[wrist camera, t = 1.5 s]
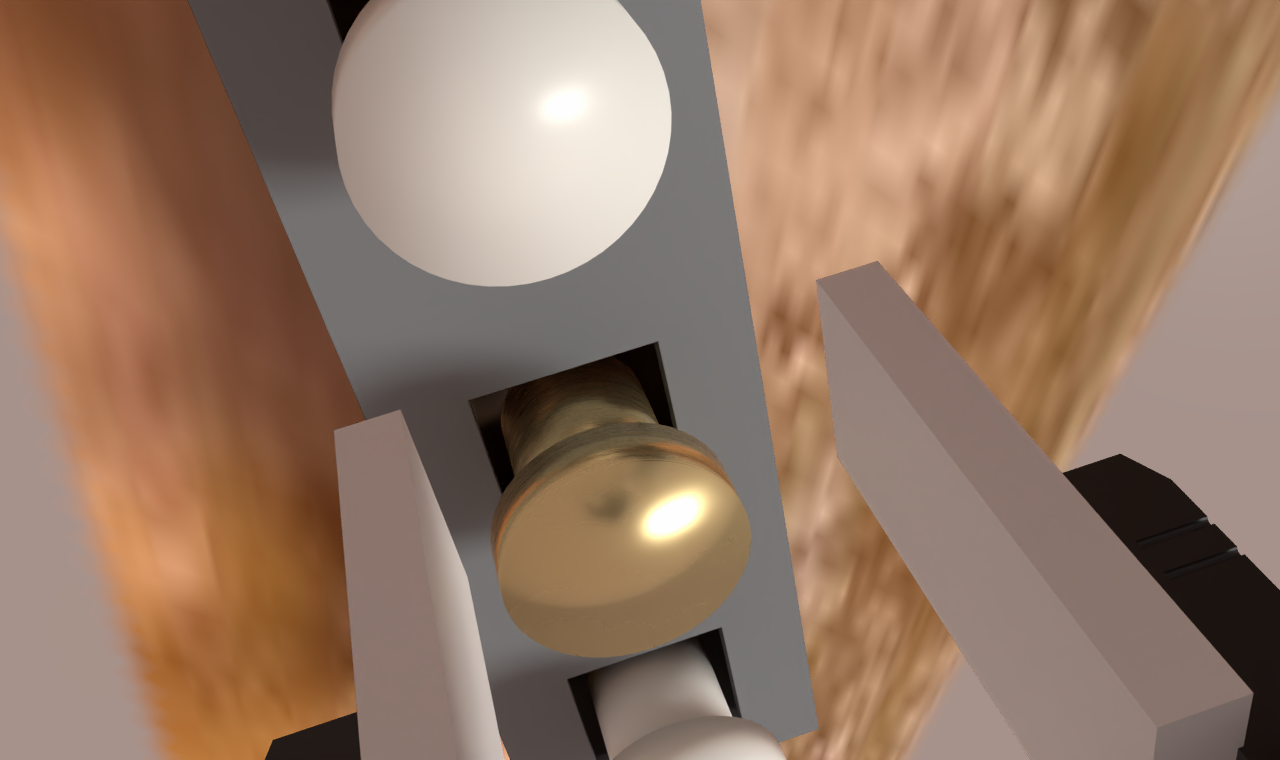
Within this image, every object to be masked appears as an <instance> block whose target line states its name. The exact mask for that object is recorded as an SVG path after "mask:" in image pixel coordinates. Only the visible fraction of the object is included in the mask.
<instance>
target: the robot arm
mask: <svg viewBox="0 0 1280 760" xmlns="http://www.w3.org/2000/svg"><path fill="white" fill-rule="evenodd" d="M816 284H817V292H818V300H819V309H820V317H821V325H822V334H823V342H824V350H825V359H826V367H827V375H828V384H829V392H830V400H831V408H832V417H833V425H834V433H835V442H836V450H837V457H838V459H839V460H840V462H841V464H842V465H843V467H844V468H845V470H846V471H847V473H848V475H849V476H850V478H851V479H852V481H853V482H854V484H855V486H856V487H857V489H858V490H859V492H860V493H861V495H862V497H863V498H864V500H865V501H866V503H867V504H868V506H869V508H870V509H871V511H872V512H873V514H874V515H875V517H876V519H877V520H878V522H879V523H880V525H881V526H882V528H883V530H884V531H885V533H886V534H887V536H888V537H889V539H890V541H891V542H892V544H893V545H894V547H895V548H896V550H897V552H898V553H899V555H900V556H901V558H902V559H903V561H904V563H905V564H906V566H907V567H908V569H909V570H910V572H911V574H912V575H913V577H914V578H915V580H916V581H917V583H918V585H919V586H920V588H921V589H922V591H923V592H924V594H925V596H926V597H927V599H928V600H929V602H930V603H931V605H932V607H933V608H934V610H935V611H936V613H937V614H938V616H939V618H940V619H941V621H942V622H943V624H944V625H945V627H946V628H947V630H948V632H949V633H950V635H951V636H952V638H953V639H954V641H955V643H956V644H957V646H958V647H959V649H960V650H961V652H962V654H963V655H964V657H965V658H966V660H967V661H968V663H969V665H970V666H971V668H972V669H973V671H974V672H975V674H976V676H977V677H978V679H979V680H980V682H981V683H982V685H983V687H984V688H985V690H986V691H987V693H988V694H989V696H990V697H991V699H992V701H993V702H994V704H995V705H996V707H997V708H998V710H999V712H1000V713H1001V715H1002V716H1003V718H1004V720H1005V721H1006V723H1007V724H1008V726H1009V727H1010V729H1011V730H1012V732H1013V734H1014V735H1015V737H1016V738H1017V740H1018V742H1019V743H1020V744H1021V746H1022V748H1023V749H1024V751H1025V753H1026V754H1027V756H1028V757H1029V759H1030V760H1280V590H1279V589H1278V588H1277V587H1276V586H1275V585H1274V584H1273V583H1272V582H1271V581H1270V580H1269V579H1268V578H1267V577H1266V576H1265V575H1264V574H1263V573H1262V572H1261V571H1260V570H1259V569H1258V568H1257V567H1256V566H1255V564H1253V563H1252V562H1251V560H1250V559H1249V558H1248V557H1246V555H1242V556H1241V555H1240V554H1239V552H1238V550H1237V546H1236V545H1235V544H1234V543H1233V542H1232V541H1231V540H1230V539H1229V538H1228V537H1227V536H1226V535H1225V534H1224V533H1223V532H1222V531H1221V530H1220V529H1219V528H1218V527H1217V526H1216V525H1215V524H1212V525H1211V524H1210V523H1209V521H1208V518H1207V516H1206V515H1205V514H1204V513H1203V512H1202V510H1200V508H1199V507H1198V506H1197V505H1196V504H1195V503H1194V502H1193V501H1192V500H1191V499H1189V497H1188V496H1187V495H1186V494H1185V493H1184V492H1183V491H1182V490H1181V489H1180V488H1179V487H1178V486H1177V485H1176V484H1175V483H1174V482H1173V481H1172V480H1171V479H1169V478H1167V477H1165V476H1163V475H1161V474H1159V473H1157V472H1155V471H1153V470H1151V469H1149V468H1147V467H1146V466H1143V465H1142V464H1140V463H1138V462H1136V461H1134V460H1132V459H1130V458H1128V457H1126V456H1124V455H1122V454H1118V455H1115V456H1112V457H1109V458H1106V459H1103V460H1100V461H1097V462H1094V463H1091V464H1088V465H1085V466H1082V467H1079V468H1076V469H1073V470H1070V471H1067V472H1064V473H1062V472H1061V471H1060V470H1059V469H1058V468H1057V467H1056V465H1055V464H1054V463H1053V462H1052V461H1051V460H1050V458H1049V457H1048V456H1047V455H1046V454H1045V453H1044V452H1043V450H1042V449H1041V448H1040V447H1039V446H1038V445H1037V444H1036V442H1035V441H1034V440H1033V439H1032V438H1031V437H1030V435H1029V434H1028V433H1027V432H1026V431H1025V430H1024V429H1023V427H1022V426H1021V425H1020V424H1019V423H1018V422H1017V421H1016V419H1015V418H1014V417H1013V416H1012V415H1011V414H1010V412H1009V411H1008V410H1007V409H1006V408H1005V407H1004V406H1003V404H1002V403H1001V402H1000V401H999V400H998V399H997V398H996V396H995V395H994V394H993V393H992V392H991V391H990V389H989V388H988V387H987V386H986V385H985V384H984V383H983V381H982V380H981V379H980V378H979V377H978V376H977V375H976V373H975V372H974V371H973V370H972V369H971V368H970V366H969V365H968V364H967V363H966V362H965V361H964V360H963V358H962V357H961V356H960V355H959V354H958V353H957V352H956V350H955V349H954V348H953V347H952V346H951V345H950V344H949V342H948V341H947V340H946V339H945V338H944V337H943V335H942V334H941V333H940V332H939V331H938V330H937V329H936V327H935V326H934V325H933V324H932V323H931V322H930V321H929V319H928V318H927V317H926V316H925V315H924V314H923V312H922V311H921V310H920V309H919V308H918V307H917V306H916V304H915V303H914V302H913V301H912V300H911V299H910V298H909V296H908V295H907V294H906V293H905V292H904V291H903V289H902V288H901V287H900V286H899V285H898V284H897V283H896V281H895V280H894V279H893V278H892V277H891V276H890V275H889V273H888V272H887V271H886V270H885V269H884V268H883V266H882V265H881V264H880V263H879V262H878V261H876V262H873V263H870V264H866V265H863V266H860V267H857V268H854V269H850V270H847V271H844V272H841V273H838V274H834V275H831V276H828V277H825V278H821V279H818V280H816ZM334 438H335V450H336V462H337V474H338V487H339V499H340V511H341V523H342V535H343V547H344V559H345V571H346V584H347V596H348V608H349V620H350V632H351V644H352V656H353V668H354V681H355V693H356V705H357V712H356V713H353V714H350V715H347V716H344V717H341V718H338V719H335V720H332V721H329V722H326V723H323V724H320V725H317V726H314V727H311V728H308V729H305V730H302V731H299V732H296V733H293V734H290V735H287V736H284V737H281V738H278V739H275V740H273V741H272V744H271V746H270V749H269V751H268V753H267V756H266V758H265V760H504V755H503V750H502V745H501V740H500V735H499V730H498V725H497V721H496V716H495V711H494V706H493V701H492V696H491V691H490V686H489V681H488V676H487V671H486V666H485V661H484V656H483V651H482V646H481V641H480V636H479V631H478V626H477V621H476V616H475V611H474V606H473V601H472V596H471V591H470V586H469V581H468V577H467V575H466V572H465V570H464V567H463V565H462V562H461V560H460V557H459V555H458V552H457V550H456V547H455V545H454V542H453V540H452V537H451V535H450V532H449V530H448V527H447V525H446V522H445V520H444V517H443V515H442V512H441V510H440V507H439V505H438V502H437V500H436V497H435V495H434V492H433V490H432V487H431V485H430V482H429V480H428V477H427V474H426V472H425V469H424V467H423V464H422V462H421V459H420V457H419V454H418V452H417V449H416V447H415V444H414V442H413V439H412V437H411V434H410V432H409V429H408V427H407V424H406V422H405V419H404V417H403V414H402V412H401V410H397V411H394V412H391V413H388V414H385V415H381V416H378V417H375V418H372V419H368V420H365V421H362V422H359V423H356V424H352V425H349V426H346V427H343V428H340V429H336V430H334Z"/></svg>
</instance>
